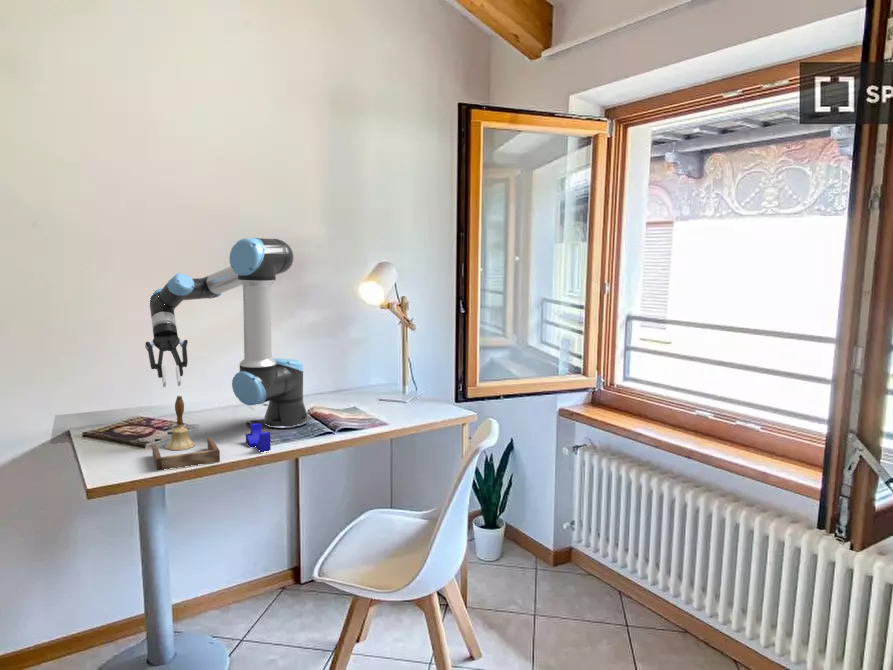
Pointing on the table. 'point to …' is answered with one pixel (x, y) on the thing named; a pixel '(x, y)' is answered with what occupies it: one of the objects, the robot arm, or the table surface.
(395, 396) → the table surface
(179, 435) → the hand bell
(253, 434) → the cable clip
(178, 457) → the walnut corral
